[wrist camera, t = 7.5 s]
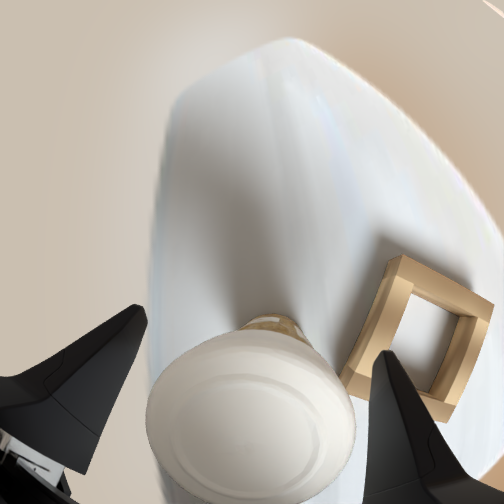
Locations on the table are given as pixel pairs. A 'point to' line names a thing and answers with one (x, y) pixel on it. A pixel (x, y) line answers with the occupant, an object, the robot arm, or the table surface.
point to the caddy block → (387, 321)
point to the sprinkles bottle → (252, 417)
